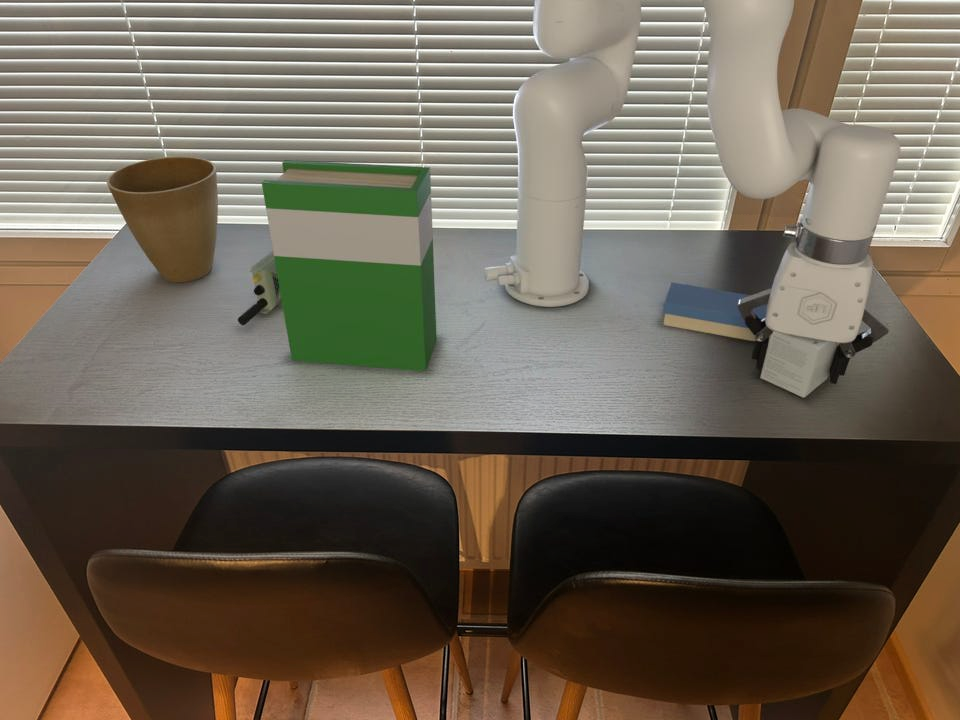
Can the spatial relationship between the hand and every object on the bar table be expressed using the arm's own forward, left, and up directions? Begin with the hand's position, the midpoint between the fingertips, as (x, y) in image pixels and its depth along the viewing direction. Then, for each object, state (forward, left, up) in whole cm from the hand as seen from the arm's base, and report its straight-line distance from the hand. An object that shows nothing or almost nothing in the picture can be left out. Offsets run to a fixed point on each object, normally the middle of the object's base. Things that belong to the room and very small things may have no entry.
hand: (795, 370), depth 94 cm
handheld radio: (-58, +42, -2) cm, 72 cm away
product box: (0, 0, -2) cm, 2 cm away
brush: (-2, +14, -1) cm, 14 cm away
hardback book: (-50, +22, -2) cm, 55 cm away
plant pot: (-73, +52, -2) cm, 90 cm away
